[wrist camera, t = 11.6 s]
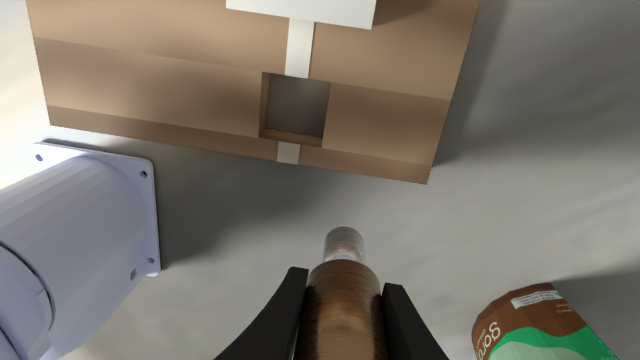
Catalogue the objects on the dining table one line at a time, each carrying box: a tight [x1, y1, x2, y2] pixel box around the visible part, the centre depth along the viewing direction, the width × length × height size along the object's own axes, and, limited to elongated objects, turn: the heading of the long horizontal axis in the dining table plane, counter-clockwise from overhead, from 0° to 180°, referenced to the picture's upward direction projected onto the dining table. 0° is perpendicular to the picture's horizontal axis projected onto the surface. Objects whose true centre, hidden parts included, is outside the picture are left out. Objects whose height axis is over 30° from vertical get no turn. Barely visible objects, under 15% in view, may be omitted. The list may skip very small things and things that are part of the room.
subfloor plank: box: [26, 0, 481, 185], centre depth 18 cm, size 14×22×2 cm, turn 82°
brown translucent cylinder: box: [293, 227, 388, 360], centre depth 12 cm, size 3×3×8 cm
